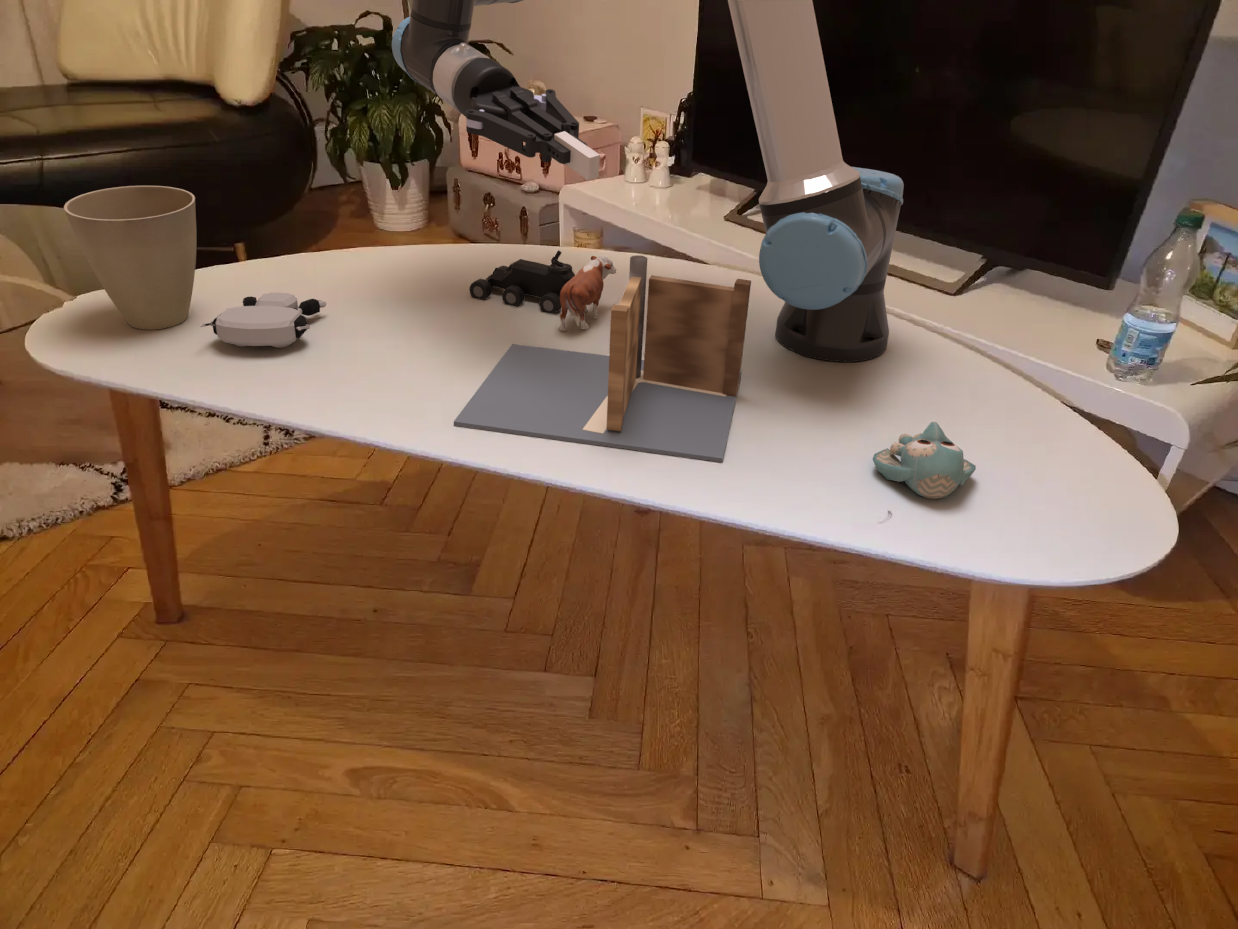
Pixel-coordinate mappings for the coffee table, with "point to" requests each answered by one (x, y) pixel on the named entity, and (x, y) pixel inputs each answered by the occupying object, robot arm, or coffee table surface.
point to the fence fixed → (691, 331)
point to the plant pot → (140, 249)
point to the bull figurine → (585, 290)
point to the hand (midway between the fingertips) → (593, 167)
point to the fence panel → (623, 353)
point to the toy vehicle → (527, 283)
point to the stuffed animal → (925, 463)
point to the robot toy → (265, 320)
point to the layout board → (596, 406)
